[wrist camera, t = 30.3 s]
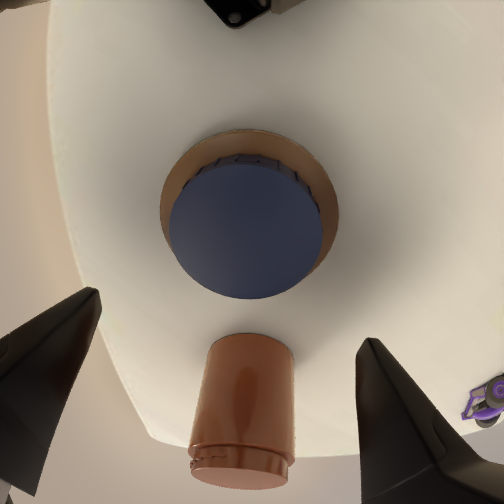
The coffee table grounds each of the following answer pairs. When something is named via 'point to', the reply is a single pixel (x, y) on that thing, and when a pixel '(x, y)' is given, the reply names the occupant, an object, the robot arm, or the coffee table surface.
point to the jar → (245, 414)
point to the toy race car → (487, 403)
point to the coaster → (267, 147)
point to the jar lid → (246, 227)
